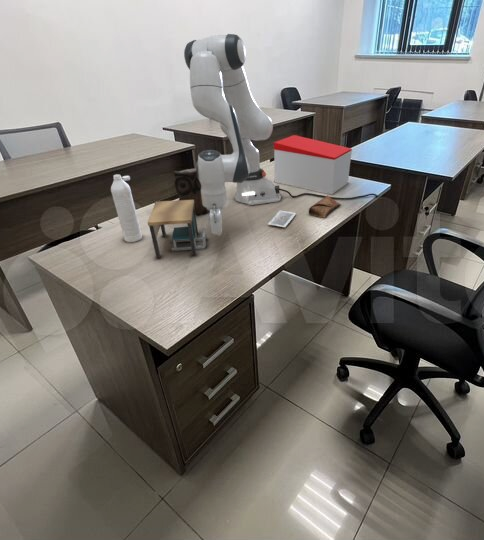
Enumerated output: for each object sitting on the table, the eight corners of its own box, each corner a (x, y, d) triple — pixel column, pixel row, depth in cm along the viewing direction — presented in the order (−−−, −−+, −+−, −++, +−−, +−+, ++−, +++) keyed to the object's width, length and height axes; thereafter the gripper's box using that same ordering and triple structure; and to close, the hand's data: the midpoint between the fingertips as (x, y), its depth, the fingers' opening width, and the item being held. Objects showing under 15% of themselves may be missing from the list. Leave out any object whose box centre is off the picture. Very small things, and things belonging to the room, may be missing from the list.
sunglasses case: (325, 217, 148) (319, 203, 146) (312, 222, 153) (306, 208, 151) (342, 204, 161) (336, 190, 159) (329, 208, 165) (324, 195, 164)
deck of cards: (296, 215, 151) (296, 210, 150) (285, 229, 140) (285, 224, 138) (279, 212, 154) (279, 208, 152) (267, 226, 142) (267, 221, 141)
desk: (198, 233, 137) (194, 199, 129) (196, 256, 122) (190, 219, 114) (162, 235, 135) (155, 201, 127) (156, 259, 120) (147, 222, 112)
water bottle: (120, 240, 132) (102, 176, 118) (133, 233, 136) (117, 171, 123) (137, 245, 128) (121, 180, 115) (150, 237, 133) (135, 174, 120)
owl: (215, 209, 156) (210, 165, 145) (199, 220, 146) (192, 174, 135) (192, 205, 160) (185, 162, 149) (175, 215, 151) (166, 170, 140)
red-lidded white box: (292, 171, 203) (293, 134, 191) (347, 182, 187) (352, 143, 175) (273, 181, 188) (273, 142, 176) (331, 194, 172) (335, 152, 161)
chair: (206, 238, 133) (203, 211, 127) (206, 248, 126) (202, 220, 120) (173, 241, 131) (168, 213, 125) (171, 251, 125) (166, 222, 118)
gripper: (223, 210, 113) (227, 246, 120) (223, 188, 130) (226, 221, 137) (204, 211, 112) (209, 248, 120) (206, 189, 129) (210, 222, 136)
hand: (218, 233), depth 129 cm, fingers closed
